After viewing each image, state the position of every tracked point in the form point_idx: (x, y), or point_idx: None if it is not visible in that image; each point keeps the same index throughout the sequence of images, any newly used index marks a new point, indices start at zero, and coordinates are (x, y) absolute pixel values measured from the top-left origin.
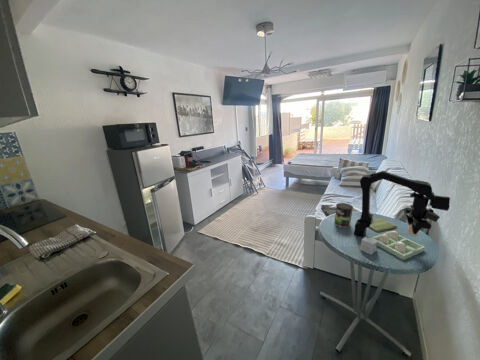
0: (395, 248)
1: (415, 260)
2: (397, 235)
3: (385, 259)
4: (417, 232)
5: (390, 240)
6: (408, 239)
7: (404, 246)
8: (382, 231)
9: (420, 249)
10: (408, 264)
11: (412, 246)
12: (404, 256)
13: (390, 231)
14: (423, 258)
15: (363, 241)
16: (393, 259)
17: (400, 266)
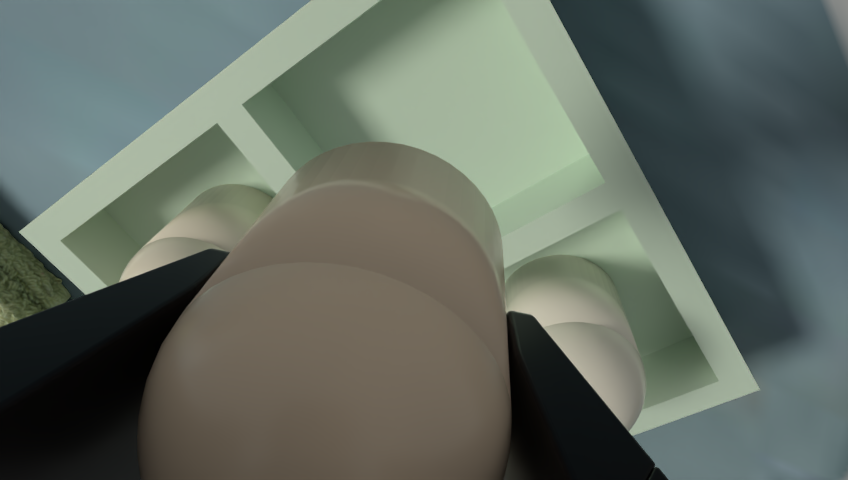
0: None
1: (715, 168)
2: None
3: (678, 470)
4: (497, 293)
5: None
6: (235, 70)
7: (641, 388)
8: (15, 264)
9: (562, 25)
10: (792, 301)
11: (362, 26)
12: (751, 374)
13: (38, 242)
14: (671, 11)
15: None
16: None
17: (816, 398)
